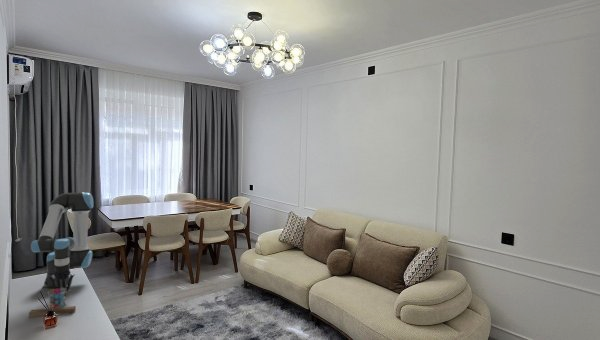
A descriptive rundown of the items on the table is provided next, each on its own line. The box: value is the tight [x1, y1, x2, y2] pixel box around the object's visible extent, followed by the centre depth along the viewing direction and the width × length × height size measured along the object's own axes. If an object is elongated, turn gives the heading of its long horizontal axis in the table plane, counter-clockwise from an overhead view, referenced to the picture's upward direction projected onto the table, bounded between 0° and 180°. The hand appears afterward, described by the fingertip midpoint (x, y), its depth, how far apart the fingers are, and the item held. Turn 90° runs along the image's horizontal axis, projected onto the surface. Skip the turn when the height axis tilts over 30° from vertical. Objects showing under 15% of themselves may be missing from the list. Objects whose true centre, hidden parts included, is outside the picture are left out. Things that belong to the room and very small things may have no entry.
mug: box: [47, 287, 72, 308], centre depth 199 cm, size 12×9×11 cm
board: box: [28, 305, 77, 318], centre depth 191 cm, size 3×22×3 cm, turn 106°
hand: (62, 301), depth 204 cm, fingers closed
